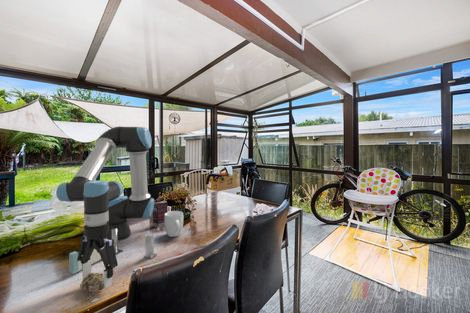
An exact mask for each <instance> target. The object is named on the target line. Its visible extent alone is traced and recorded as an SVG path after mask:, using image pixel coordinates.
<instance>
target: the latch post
mask: <svg viewBox="0 0 470 313" xmlns="http://www.w3.org/2000/svg"><path fill="white" fill-rule="evenodd" d="M154 240H155V239H154V235H146V236H145V255H143V257H144V258H145V259H149V260H152V259H154V258H155V257H156V256H157V254H156V253H154V252H155V251H154V249H155V248H154V244H155V243H154Z"/></svg>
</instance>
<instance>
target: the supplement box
mask: <svg viewBox="0 0 470 313" xmlns="http://www.w3.org/2000/svg"><path fill="white" fill-rule="evenodd" d="M167 212H168V201H166V200H161V201H157V202H156V201H155V202H154V209H153V212H152V226H153V227H154V228H156V227H157V228H160V227H163V226H164V227H165V222H164V221H165V213H167Z"/></svg>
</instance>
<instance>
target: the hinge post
mask: <svg viewBox="0 0 470 313" xmlns="http://www.w3.org/2000/svg"><path fill="white" fill-rule="evenodd" d="M112 239H113V240H114V249H115V254H116V256H117V255H119V254H121V253H123V251H124V250H122V249H118V241H117V228H114V229H112Z"/></svg>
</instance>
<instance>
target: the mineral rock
mask: <svg viewBox="0 0 470 313" xmlns="http://www.w3.org/2000/svg"><path fill="white" fill-rule="evenodd" d="M79 289H80V290H83V291H87V292H90V293H93V292H99V291H100V292H101V291H102V290H103V289H105V288H104V274H103V273H99V272H95V273H94V272H91V273H90V274H89V275H88V276H86V277H85V278H84V279H83V278H82V281H81V284H79Z"/></svg>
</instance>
